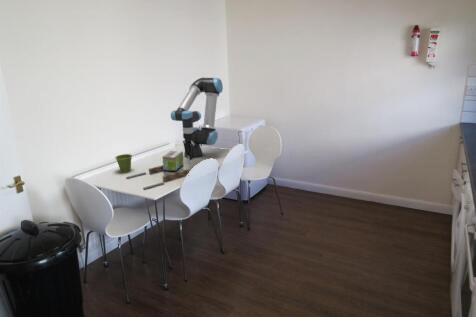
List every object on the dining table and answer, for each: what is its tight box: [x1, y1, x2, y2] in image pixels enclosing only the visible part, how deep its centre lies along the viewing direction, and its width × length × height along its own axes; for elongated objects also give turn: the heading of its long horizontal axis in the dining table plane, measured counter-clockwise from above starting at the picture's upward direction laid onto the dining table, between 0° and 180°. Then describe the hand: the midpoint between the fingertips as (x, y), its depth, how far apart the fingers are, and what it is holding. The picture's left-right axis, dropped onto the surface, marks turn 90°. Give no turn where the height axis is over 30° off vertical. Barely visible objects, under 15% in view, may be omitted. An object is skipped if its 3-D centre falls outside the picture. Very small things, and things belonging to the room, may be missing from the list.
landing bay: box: [125, 172, 165, 191], centre depth 239 cm, size 14×28×1 cm, turn 40°
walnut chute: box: [148, 164, 191, 183], centre depth 250 cm, size 21×22×4 cm
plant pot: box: [114, 153, 133, 173], centre depth 258 cm, size 12×12×11 cm
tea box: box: [162, 150, 185, 176], centre depth 251 cm, size 15×10×15 cm
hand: (190, 163), depth 260 cm, fingers closed
